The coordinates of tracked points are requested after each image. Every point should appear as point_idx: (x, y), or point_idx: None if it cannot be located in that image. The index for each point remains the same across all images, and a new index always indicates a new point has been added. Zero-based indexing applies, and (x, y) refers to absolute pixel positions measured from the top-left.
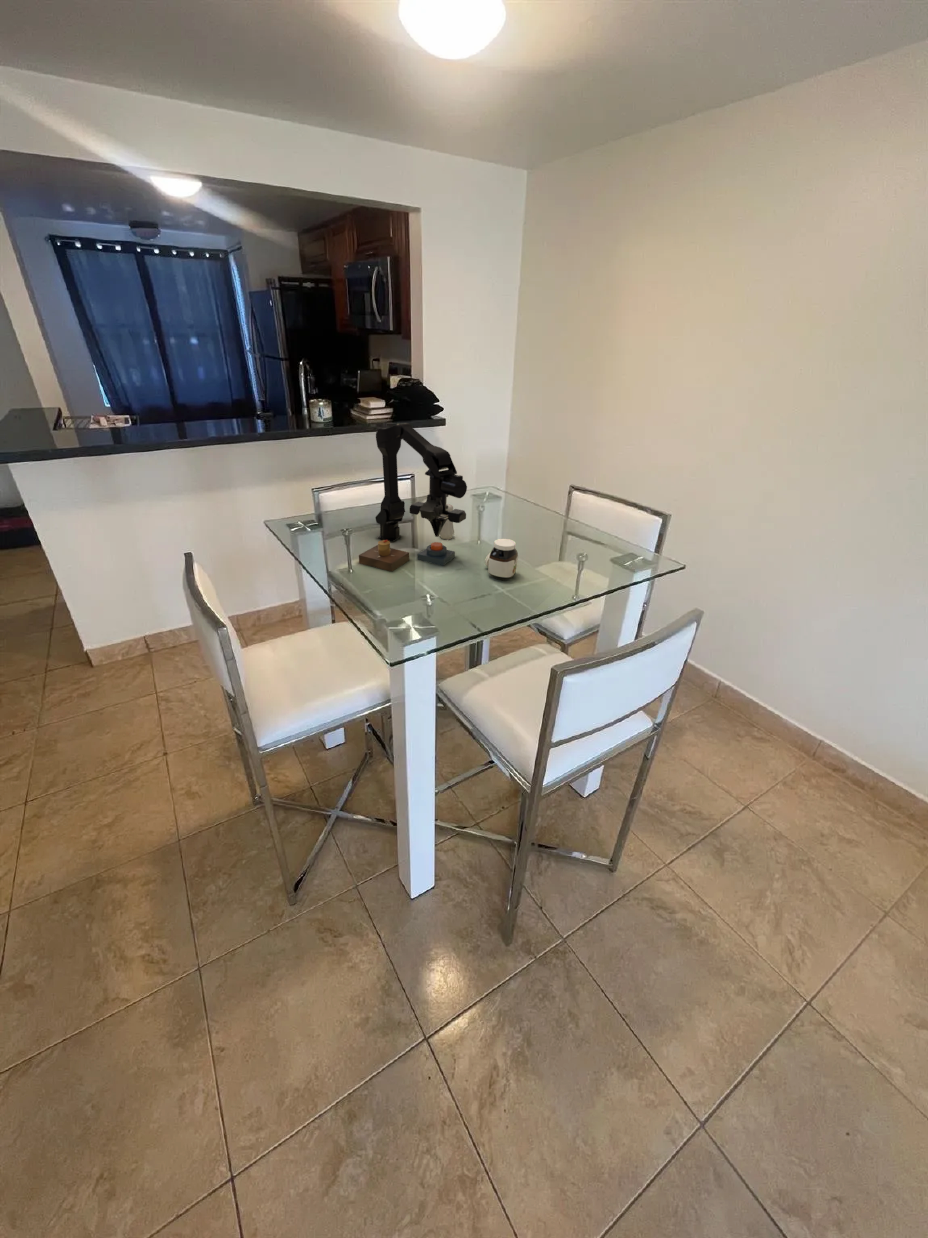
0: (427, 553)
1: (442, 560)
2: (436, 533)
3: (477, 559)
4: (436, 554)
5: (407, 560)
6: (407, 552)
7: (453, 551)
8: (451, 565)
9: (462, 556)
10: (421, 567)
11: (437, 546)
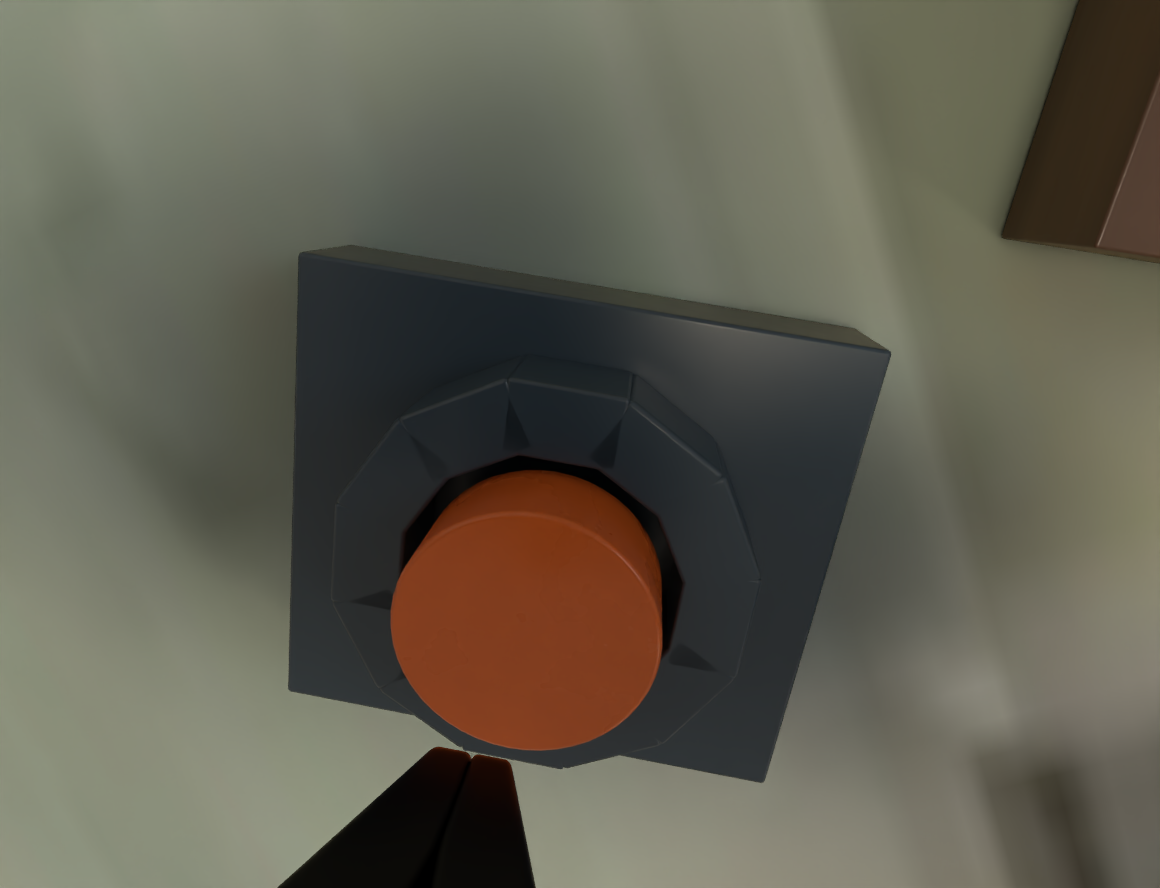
0: (690, 420)
1: (317, 253)
2: (423, 825)
3: (38, 665)
4: (473, 380)
5: (1038, 159)
6: (1142, 226)
7: (311, 685)
8: (243, 330)
9: (254, 694)
10: (679, 13)
11: (453, 521)
